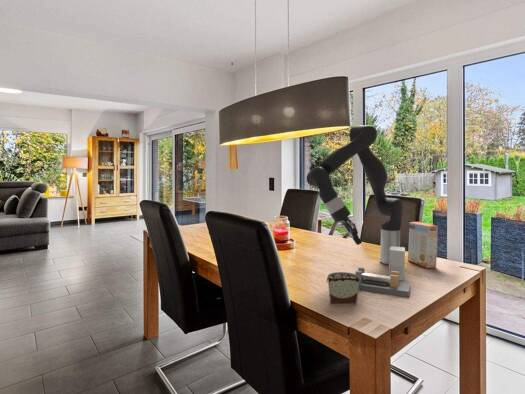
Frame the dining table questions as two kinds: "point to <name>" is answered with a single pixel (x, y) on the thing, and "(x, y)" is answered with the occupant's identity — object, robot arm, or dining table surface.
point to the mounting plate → (385, 284)
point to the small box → (397, 261)
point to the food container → (343, 288)
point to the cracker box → (423, 244)
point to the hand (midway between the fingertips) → (359, 243)
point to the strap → (376, 277)
